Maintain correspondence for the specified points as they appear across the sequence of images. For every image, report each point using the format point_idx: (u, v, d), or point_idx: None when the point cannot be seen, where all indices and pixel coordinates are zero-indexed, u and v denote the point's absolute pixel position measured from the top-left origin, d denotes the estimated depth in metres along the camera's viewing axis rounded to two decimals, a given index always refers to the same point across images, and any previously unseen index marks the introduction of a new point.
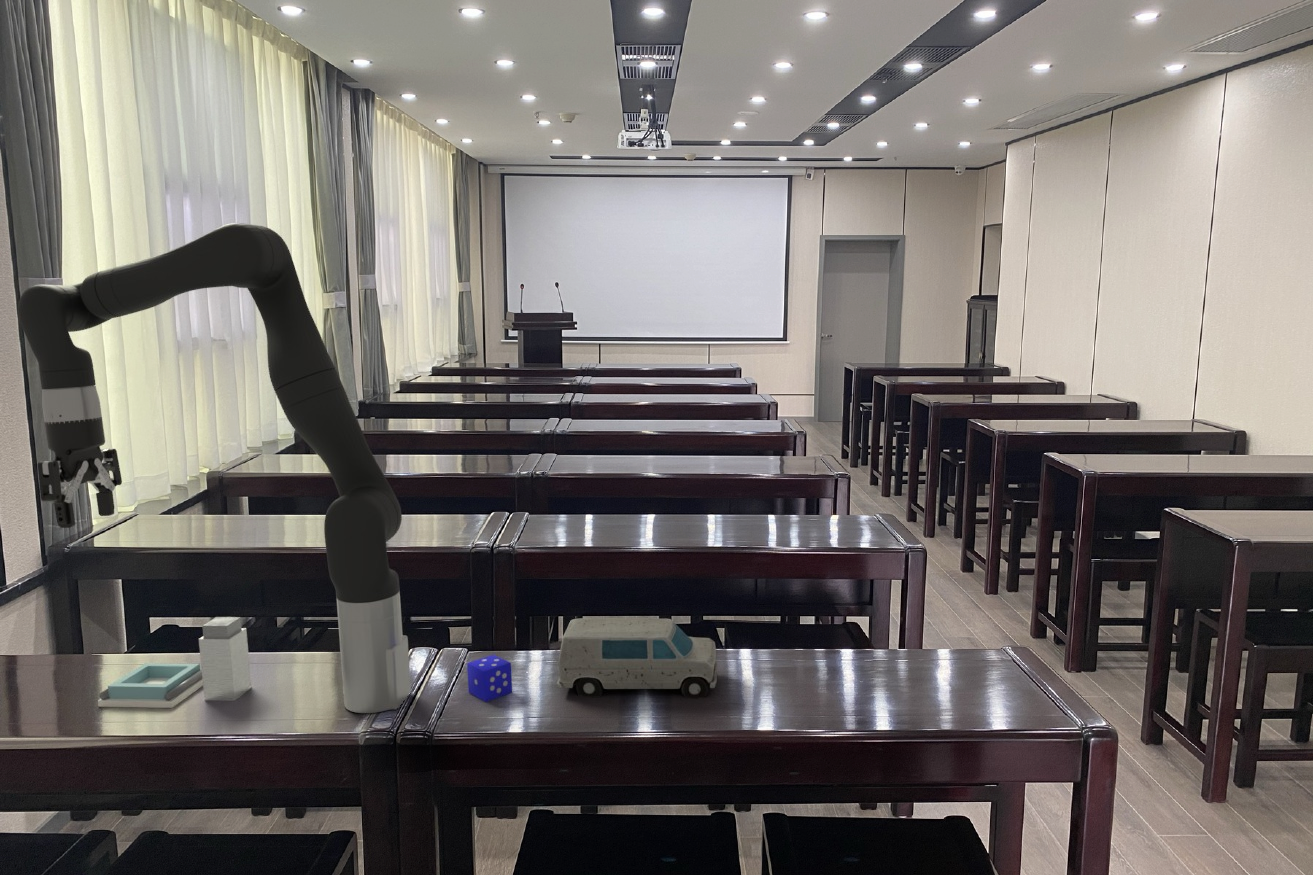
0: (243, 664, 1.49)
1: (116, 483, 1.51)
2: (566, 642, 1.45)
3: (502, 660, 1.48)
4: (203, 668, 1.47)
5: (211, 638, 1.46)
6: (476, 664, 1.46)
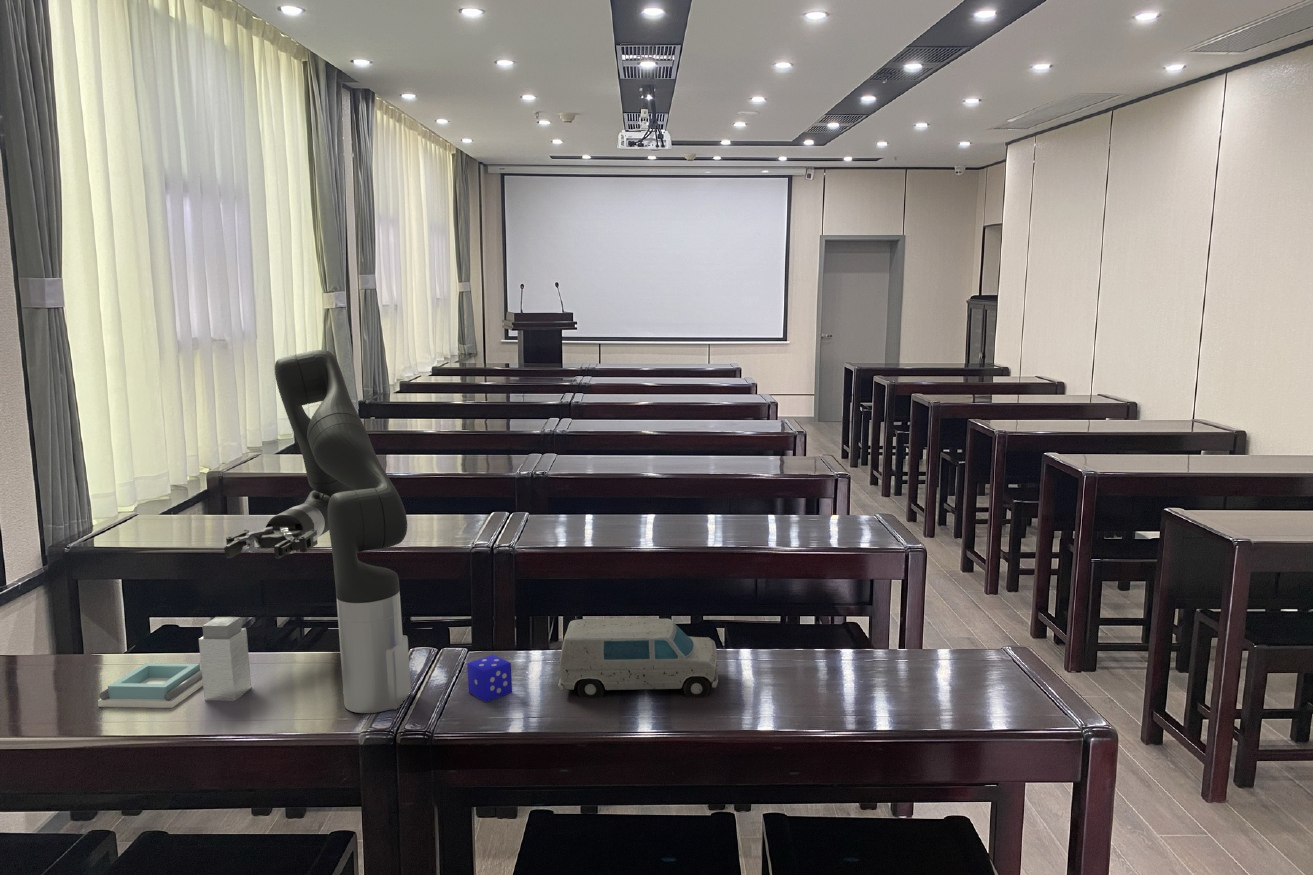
0: (243, 664, 1.49)
1: (298, 538, 1.62)
2: (568, 644, 1.44)
3: (502, 660, 1.48)
4: (203, 668, 1.47)
5: (211, 638, 1.46)
6: (476, 664, 1.46)
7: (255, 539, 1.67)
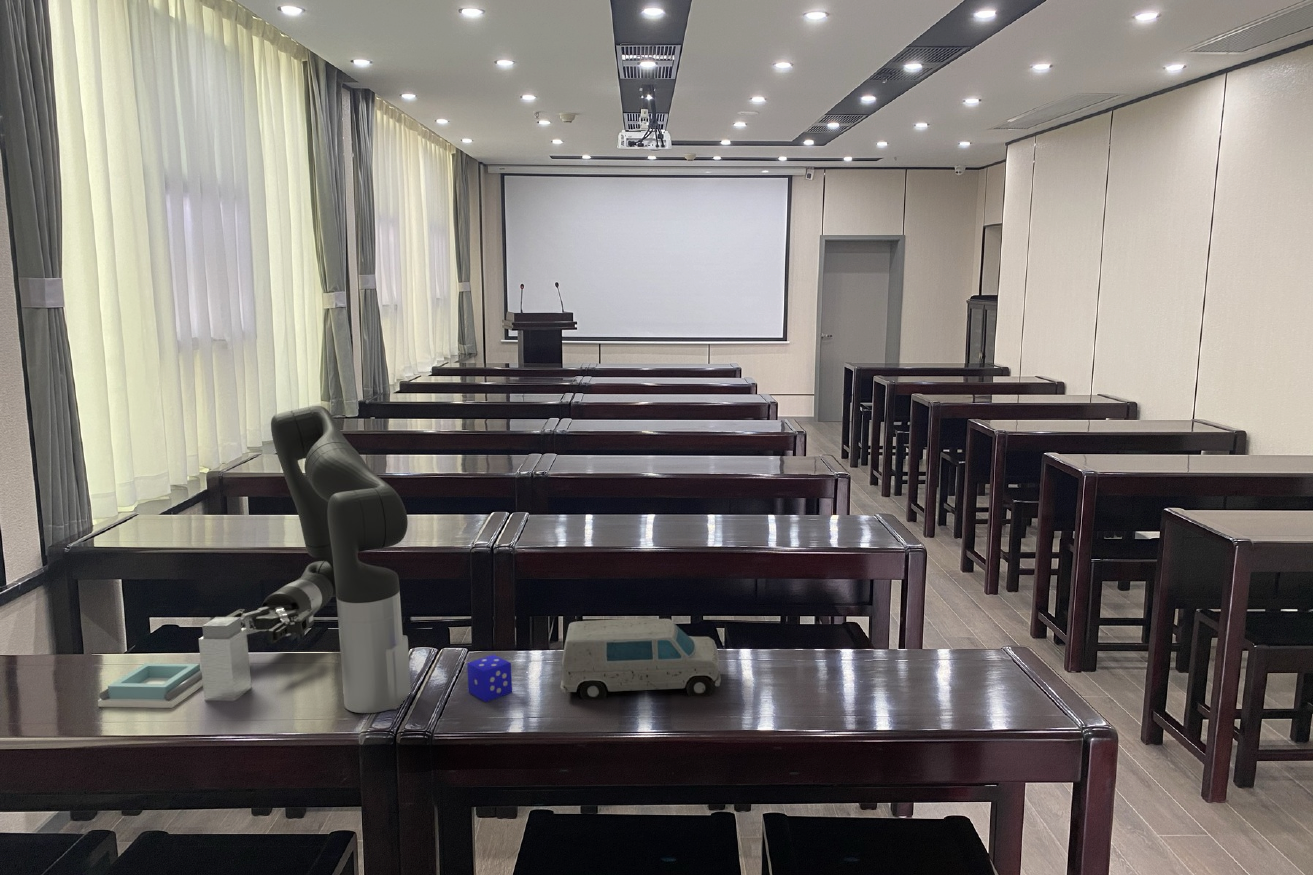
0: (243, 664, 1.49)
1: (294, 620, 1.59)
2: (570, 646, 1.43)
3: (502, 660, 1.48)
4: (203, 668, 1.47)
5: (211, 638, 1.46)
6: (476, 664, 1.46)
7: (251, 619, 1.64)
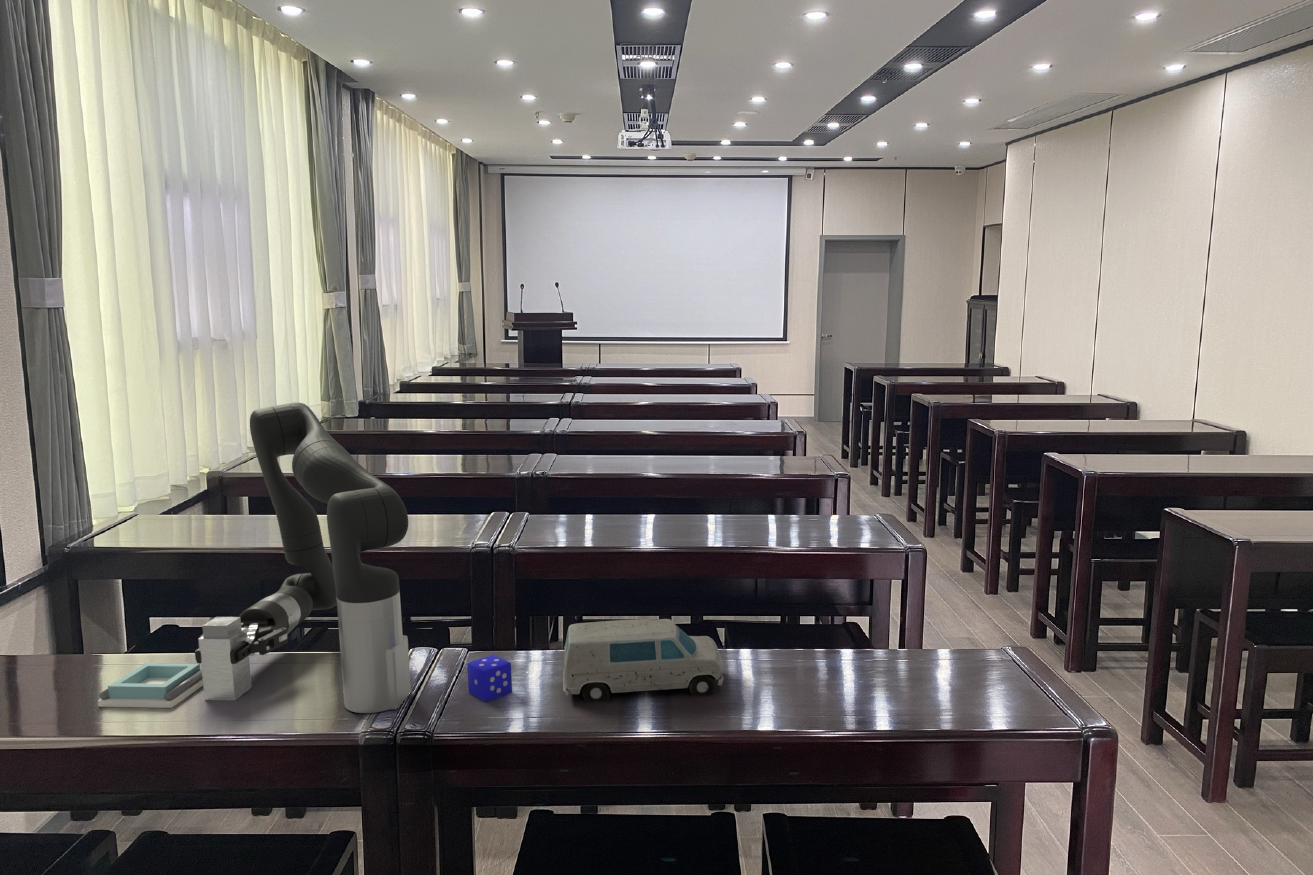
0: (243, 664, 1.49)
1: (258, 639, 1.50)
2: (573, 648, 1.42)
3: (502, 660, 1.48)
4: (203, 668, 1.47)
5: (211, 638, 1.46)
6: (476, 664, 1.46)
7: None
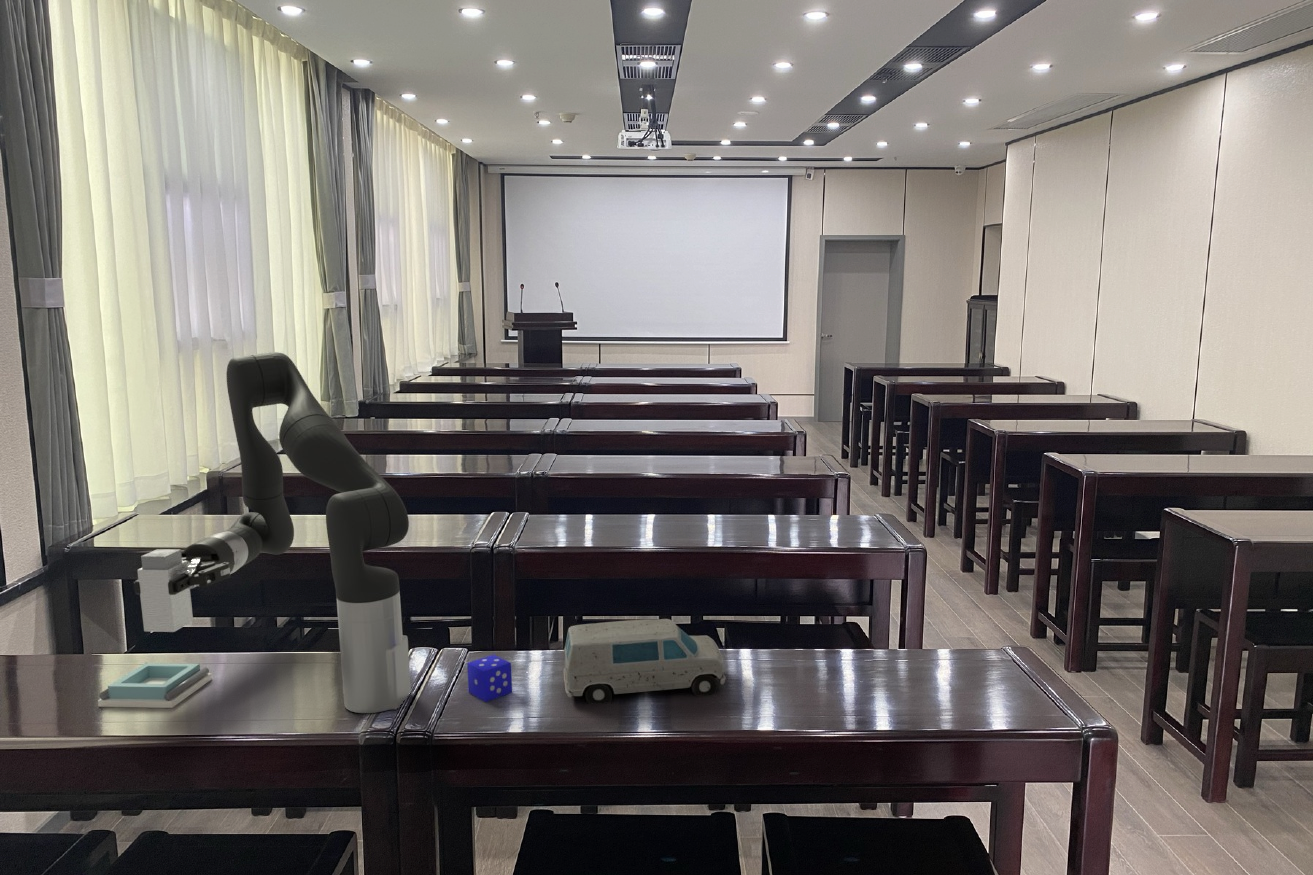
0: (183, 596, 1.49)
1: (198, 571, 1.50)
2: (576, 650, 1.42)
3: (502, 660, 1.48)
4: (142, 599, 1.46)
5: (150, 569, 1.46)
6: (476, 664, 1.46)
7: None
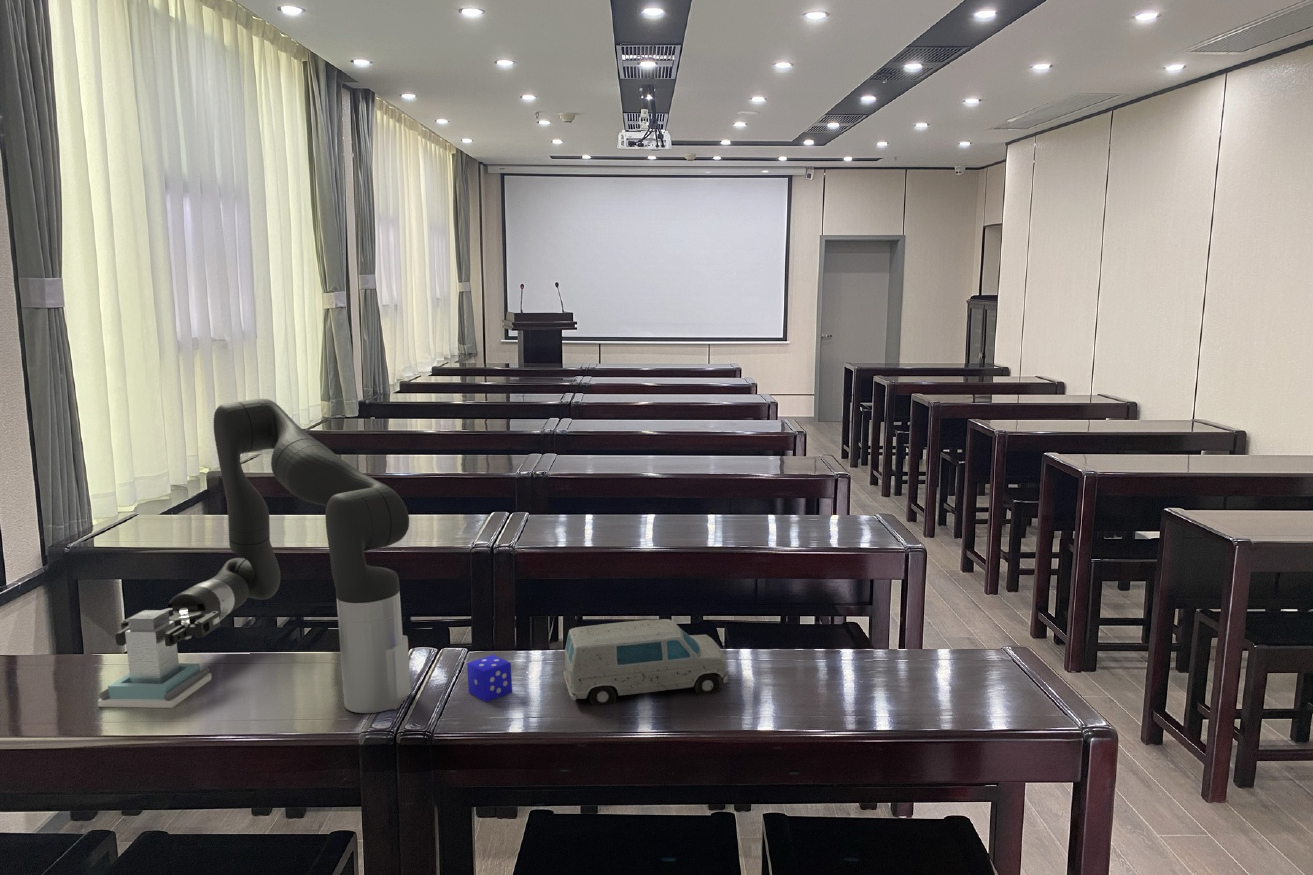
0: (171, 657, 1.50)
1: (194, 622, 1.51)
2: (580, 652, 1.41)
3: (502, 660, 1.48)
4: (130, 661, 1.48)
5: (137, 631, 1.47)
6: (476, 664, 1.46)
7: None
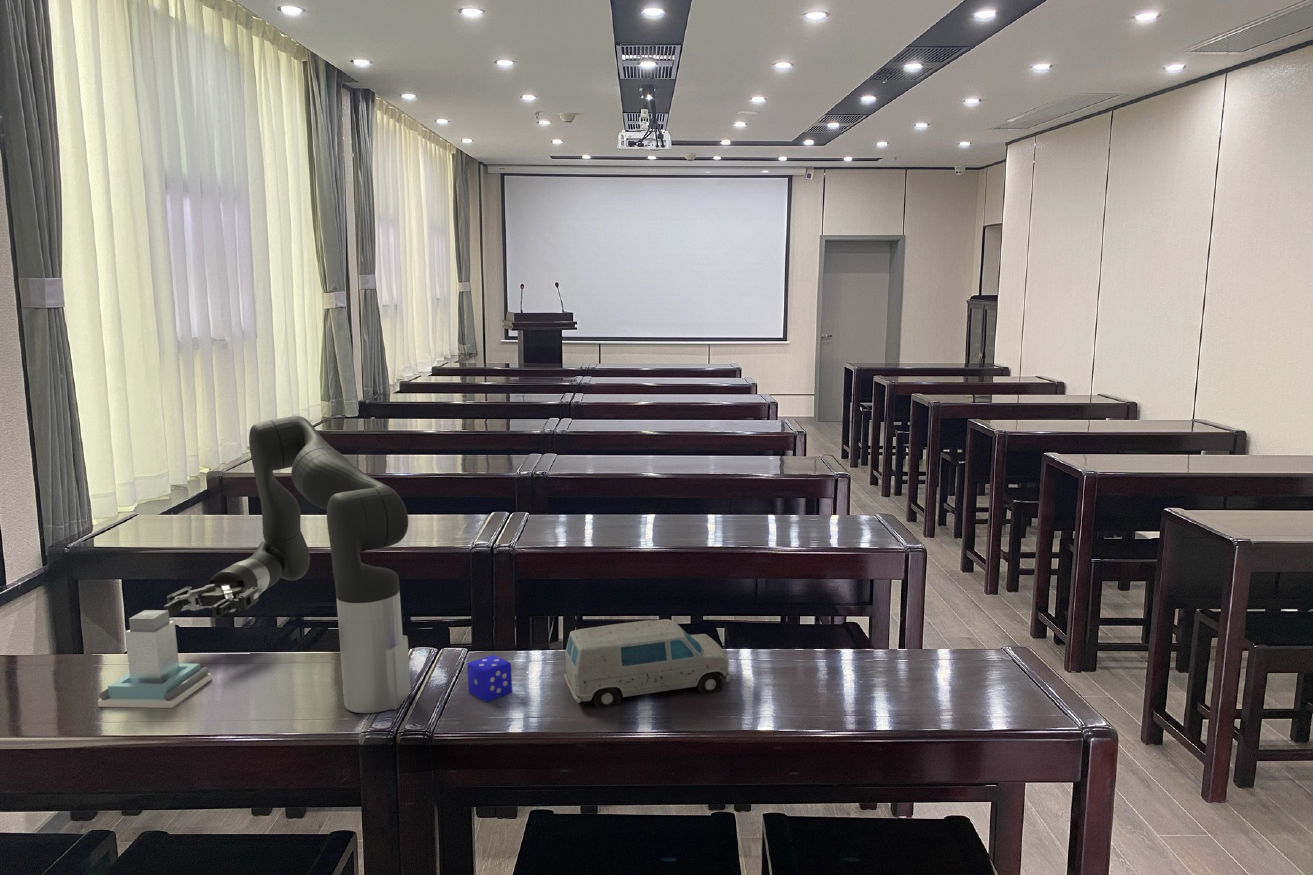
0: (171, 657, 1.50)
1: (238, 596, 1.64)
2: (584, 654, 1.40)
3: (502, 660, 1.48)
4: (130, 661, 1.48)
5: (137, 631, 1.47)
6: (476, 664, 1.46)
7: (197, 596, 1.70)
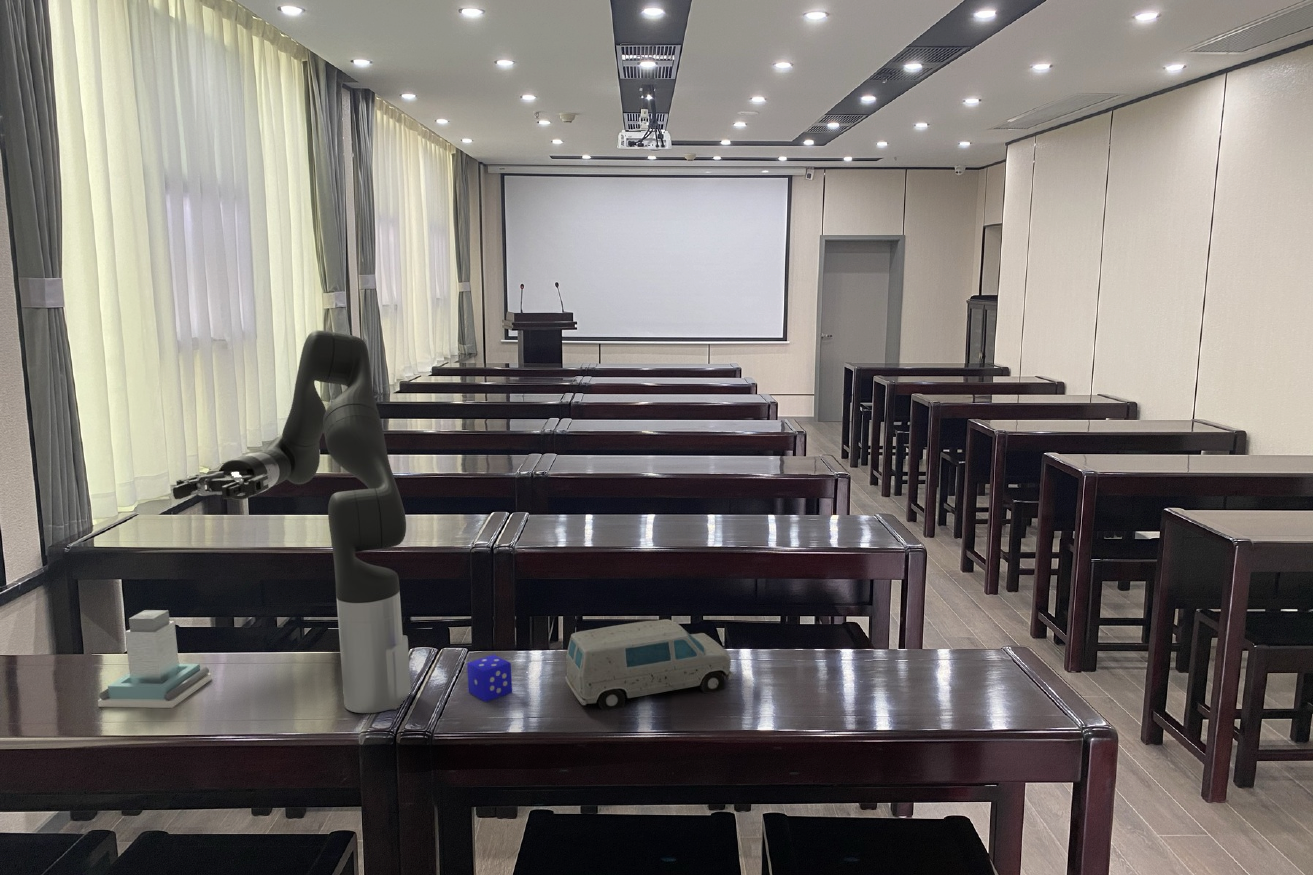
0: (171, 657, 1.50)
1: (248, 480, 1.62)
2: (589, 656, 1.39)
3: (502, 660, 1.48)
4: (130, 661, 1.48)
5: (137, 631, 1.47)
6: (476, 664, 1.46)
7: (207, 484, 1.67)
